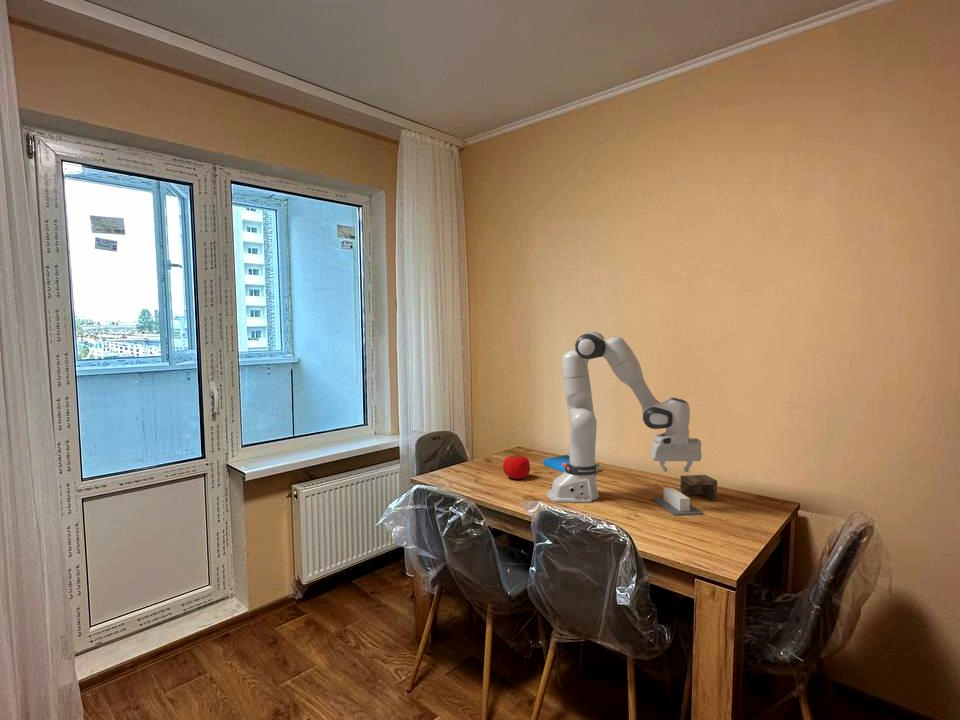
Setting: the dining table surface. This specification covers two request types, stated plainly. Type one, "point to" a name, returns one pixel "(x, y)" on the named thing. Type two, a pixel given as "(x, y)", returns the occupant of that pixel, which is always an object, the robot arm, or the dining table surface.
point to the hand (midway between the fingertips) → (675, 471)
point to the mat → (673, 510)
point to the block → (677, 499)
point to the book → (560, 462)
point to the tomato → (516, 466)
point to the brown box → (699, 485)
